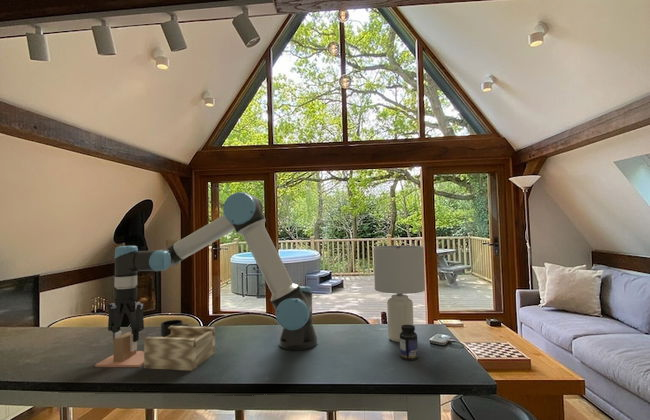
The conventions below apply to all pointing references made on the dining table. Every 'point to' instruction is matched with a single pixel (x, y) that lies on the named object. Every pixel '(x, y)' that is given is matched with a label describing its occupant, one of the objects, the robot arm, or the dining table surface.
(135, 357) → the cover plate
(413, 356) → the pill bottle
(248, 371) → the dining table surface
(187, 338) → the birch box
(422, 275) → the lamp
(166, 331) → the mug
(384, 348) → the dining table surface
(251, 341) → the dining table surface
